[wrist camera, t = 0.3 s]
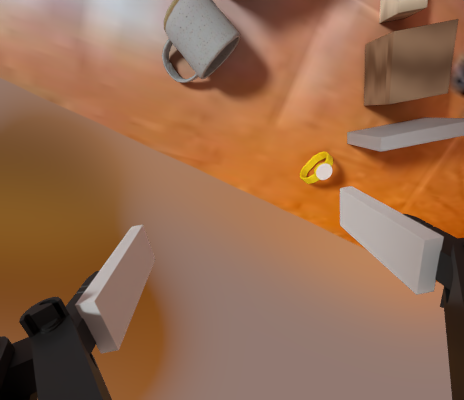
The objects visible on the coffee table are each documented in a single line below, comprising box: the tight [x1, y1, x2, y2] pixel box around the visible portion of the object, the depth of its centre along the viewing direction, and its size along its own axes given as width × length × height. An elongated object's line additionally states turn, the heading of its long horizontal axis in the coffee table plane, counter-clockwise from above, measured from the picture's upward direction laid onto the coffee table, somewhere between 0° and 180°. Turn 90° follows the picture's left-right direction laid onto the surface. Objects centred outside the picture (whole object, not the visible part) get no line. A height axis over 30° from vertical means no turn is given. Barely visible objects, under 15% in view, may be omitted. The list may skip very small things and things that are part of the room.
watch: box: [300, 152, 333, 184], centre depth 40 cm, size 6×3×6 cm, turn 140°
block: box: [364, 19, 458, 105], centre depth 35 cm, size 9×9×6 cm
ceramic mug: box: [162, 0, 240, 83], centre depth 32 cm, size 11×8×8 cm
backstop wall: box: [347, 117, 464, 152], centre depth 38 cm, size 2×14×9 cm, turn 100°
